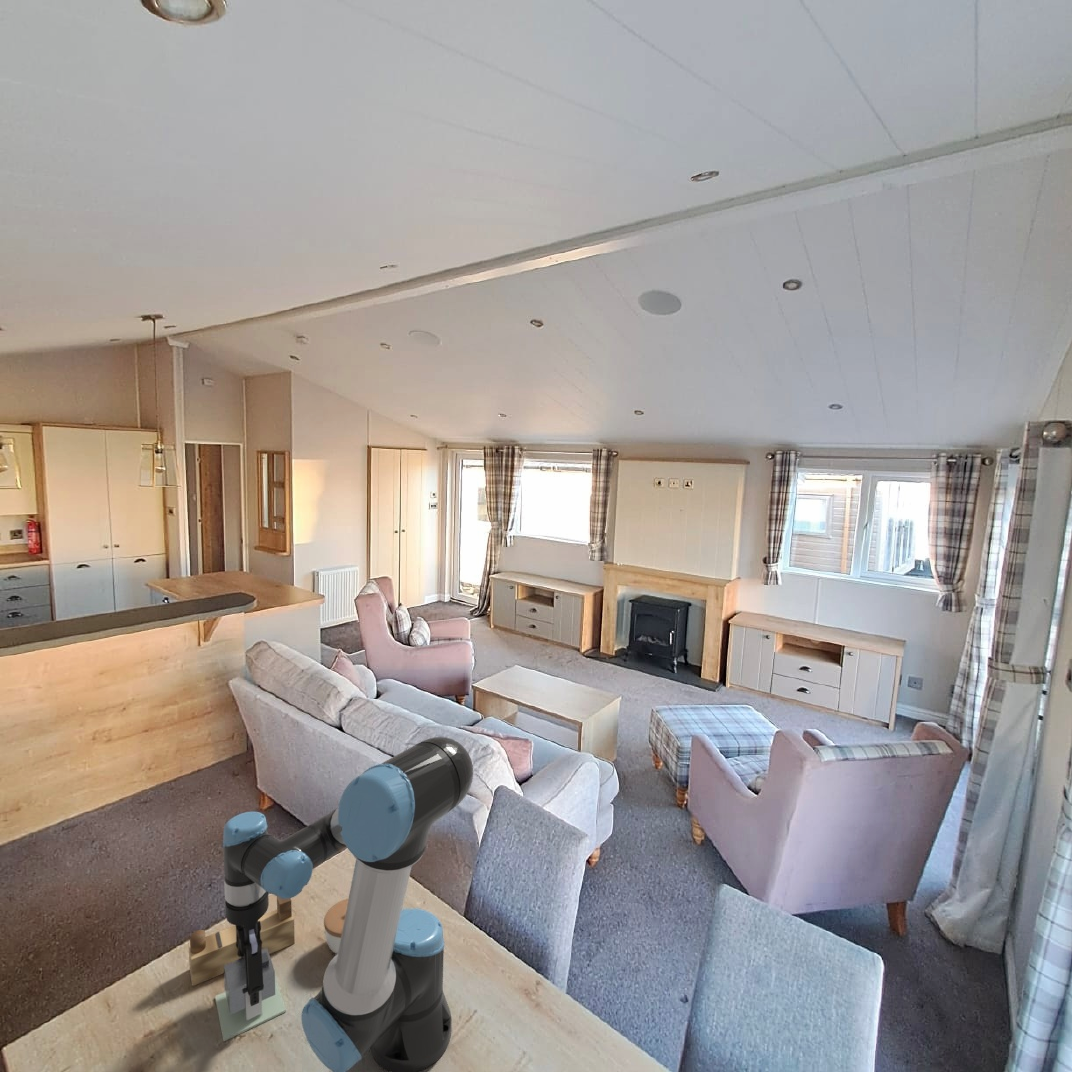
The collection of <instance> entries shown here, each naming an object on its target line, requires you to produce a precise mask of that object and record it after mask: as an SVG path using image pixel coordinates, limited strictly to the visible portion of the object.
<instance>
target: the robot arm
mask: <svg viewBox="0 0 1072 1072" xmlns="http://www.w3.org/2000/svg"><path fill="white" fill-rule="evenodd" d="M473 779H474V765H473V760H472V758H471V756H470V754H469V752H468V751H467V749H466V747H464V746H463V745H462V744H461V743H459V741H457V740H454V739H452V738H450V737H446V736H445V737H444V736H435V737H430V738H427V739H424V740H422V741H420V742H418V743H416V744H415V745H413V746H411V747H409V748H407V749H406V750H404V751H402V752H400V753H398V754H396V755H395V756H393V757H391V758H389V759H387V760H385V761H383V762H382V763H378V764H375V765H373V766H371V767H369V768H367V769H365V770H364V771H363V772H362V773H361V774H360V775H359V776H357V777H355V778H354V779H352V780H351V782H349V783H348V784H347V785H346V787H345V789H344V790H343V792H342V795H341V797H340V799H339V803H338V807H336V809H334V810H332V811H330V812H329V813H327V814H325V815H324V816H322V817H320V818H318V819H317V820H315V821H314V822H311V823H310V824H309V825H306V826H305V827H303V828H302V829H299V830H298V831H296V832H294V833H293V834H291V835H289V836H287V837H286V838H283V839H279V838H277V837H275V836H274V835H272V834H270V833H268V823H267V819H266V818H267V817H266V816H265V814H264V813H262V812H258V811H245V812H242V813H239V814H237V815H235V816H233V817H232V818H230V819H228V821H227V822H226V823H225V824H224V826H223V836H222V837H223V839H222V840H223V842H222V850H223V851H222V852H223V853H222V854H223V869H224V870H223V871H224V872H223V874H224V879H223V882H224V883H223V884H224V885H223V887H224V900H225V919H226V921H227V922H228V923H229V924H231V925H233V926H236V947H237V948H238V953H237V955H238V957H240V956H241V958H243V957H244V961H245V974H246V987H245V988H243V989H242V991H243V994H244V993H245V999H246V1019H247V1020H249V1019H251V1018H253V1017H255V1016H257V1015H259V1014H261V1013H262V995H261V990H263V989H264V984H263V970H262V941H261V939H260V931H261V923H260V921H258V920H259V919H260V918H261V917H262V916H263V915H264V914H267V911H268V909H269V902H270V901H269V900H270V899H269V894H271V895H274V896H276V898H277V897H279V898H282V899H290V898H291V899H292V898H295V897H296V896H298V895H299V894H300V893H302V892H303V889H304V888H305V886H307V885H308V884H309V882H310V881H311V878H312V875H313V870H314V869H316V868H317V867H319V866H320V865H322V864H323V863H325V861H327V860H329V859H331V858H333V857H334V856H335V855H337V854H339V853H340V852H342V851H344V850H345V849H348V852H350V853H351V854H352V856H353V857H354V859H355V863H354V868H353V873H352V880H351V885H350V888H349V894H348V898H347V899H348V904H347V909H346V914H345V920H344V925H343V930H342V935H341V940H340V946H339V951H338V954H335V956H333V958H331V960H330V961H329V963H328V965H327V966H326V969H325V972H324V975H323V980H322V984H321V989H320V991H319V992H318V993H317V994H316V995H315V996H314V997H311V998H310V999H309V1001H308V1002H306V1004H305V1005H304V1007H303V1009H302V1010H301V1014H300V1015H301V1024H302V1025H301V1026H302V1029H303V1032H304V1036H305V1038H306V1040H307V1043H308V1044H309V1047H310V1048H311V1049H312V1051H313V1053H314V1054H315V1056H316V1057H317V1059H319V1061H320V1062H321V1063H322V1064H323V1065H324V1066H325V1067H326V1068H327V1069H328V1070H329V1071H331V1072H348V1071H349V1070H350V1069H351V1068H353V1066H355V1065H356V1063H358V1062H360V1061H362V1057H363V1056H364V1055H365V1054H366V1053H367V1052H368V1051H369V1050H370V1051H371V1055H372V1057H373V1059H374V1061H375V1062H376V1063H377V1064H378V1066H380V1067H381V1068H382V1069H384V1070H386V1071H387V1072H422V1071H423V1070H426V1069H427V1068H429V1067H431V1066H432V1065H434V1064H435V1063H436V1062H437V1061H438V1060H439V1059H440V1058H441V1057H442V1056H443V1055H444V1053H445V1052H446V1050H447V1049H448V1046H449V1045H450V1041H451V1037H452V1029H453V1028H452V1026H453V1025H452V1023H453V1022H452V1013H451V1010H450V1009H451V1008H450V1006H449V1004H448V1002H447V1001H448V1000H447V998H446V996H445V993H444V990H443V989H444V987H443V986H444V956H445V955H444V953H445V952H444V951H445V949H444V948H445V939H444V929H443V924H442V923H441V921H440V919H439V918H438V917H437V916H436V915H435V914H433V913H432V912H430V911H428V910H425V909H421V908H404V909H403V907H404V903H405V897H406V893H407V888H408V885H409V879H410V875H411V871H412V867H413V866H414V865H415V864H417V862H419V861H420V860H421V859H422V858H423V855H424V853H425V852H426V848H427V843H428V840H429V835H430V831H431V827H432V826H433V824H434V823H436V822H437V821H439V819H441V818H442V817H444V816H445V815H447V814H448V813H450V812H451V811H452V810H454V809H455V808H456V807H457V806H458V805H460V804H461V802H463V801H464V799H465V797H466V796H468V795H467V794H468V793H469V791H470V789H471V787H472V782H473ZM256 937H257V941H256ZM241 958H240V959H241ZM238 960H239V959H238Z"/></svg>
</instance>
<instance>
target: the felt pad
mask: <svg viewBox="0 0 1072 1072" xmlns="http://www.w3.org/2000/svg"><path fill="white" fill-rule="evenodd" d="M214 997H215V1003H216V1009H217V1010H216V1011H217V1013H218V1020H219V1025H220V1030H221V1037H222V1041H223V1042H226V1041H228V1040H231V1039H232V1038H234V1037H237V1036H238V1035H240V1034H243V1033H245V1032H246V1031H249V1030H251V1029H253V1028H255V1027H257V1026H260V1025H261V1024H264V1023H266V1022H268V1021H270V1020H272V1019H274V1018H276V1017H279V1016H280V1015H282V1014H285V1013H286V1012H287V1008H286V1006H285V1003H284V998H283V996H282V993H281V989H280V986H279V984H278V979H277V977H276V975H275V995H273V996H271V997H269V998H267V999H265V1000H263V1001H262V1013H261V1014H259V1015H257V1016H255V1017H253V1018H251V1019H249V1020H247V1019H246V1008H245V1009H243V1010H241V1011H238V1012H236V1013H234V1014H232V1015H230V1012H229V1007H228V1002H227V997H226V993H225V991H223V992H221V993H218V994H217V995H215V996H214Z"/></svg>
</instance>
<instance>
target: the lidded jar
mask: <svg viewBox="0 0 1072 1072" xmlns="http://www.w3.org/2000/svg"><path fill="white" fill-rule="evenodd" d="M348 899H349V898H345V899H343V900H340V901H338V902H336V903H335V904H332V906H331V907H330V908H329V909H328V910H327V912H326V913H325V916H324V918H323V925H324V935H325V940H326V944H327V946H328V948H329V949H330V950H331V951H332V952H333V954H335V955H337V954H338V951H339V946H340V940H341V935H342V930H343V925H344V920H345V914H346V909H347V904H348Z"/></svg>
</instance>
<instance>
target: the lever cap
mask: <svg viewBox="0 0 1072 1072" xmlns="http://www.w3.org/2000/svg"><path fill="white" fill-rule="evenodd" d="M262 970H263V984H264V989H263V990H261V995H262V1001H263V1000H265V999H267V998H269V997H271V996H273V995H275V976H276V972H275V967H274V965H273V962H272V958H271V956H270V954H269V952H268V948H265V949H263V950H262ZM223 982H224V983H223V984H224V992H225V993H226V997H227V1002H228V1007H229V1012H230V1015H232V1014H234V1013H236V1012H238V1011H241V1010H243V1009H245V1008H246V999H245V993H244V994H243V991H242V989H243V988H245V987H246V974H245V961H244V957H243V958H241V959H239V960H236V961H234V962H231V963H229V964H226V965H224V973H223Z"/></svg>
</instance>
